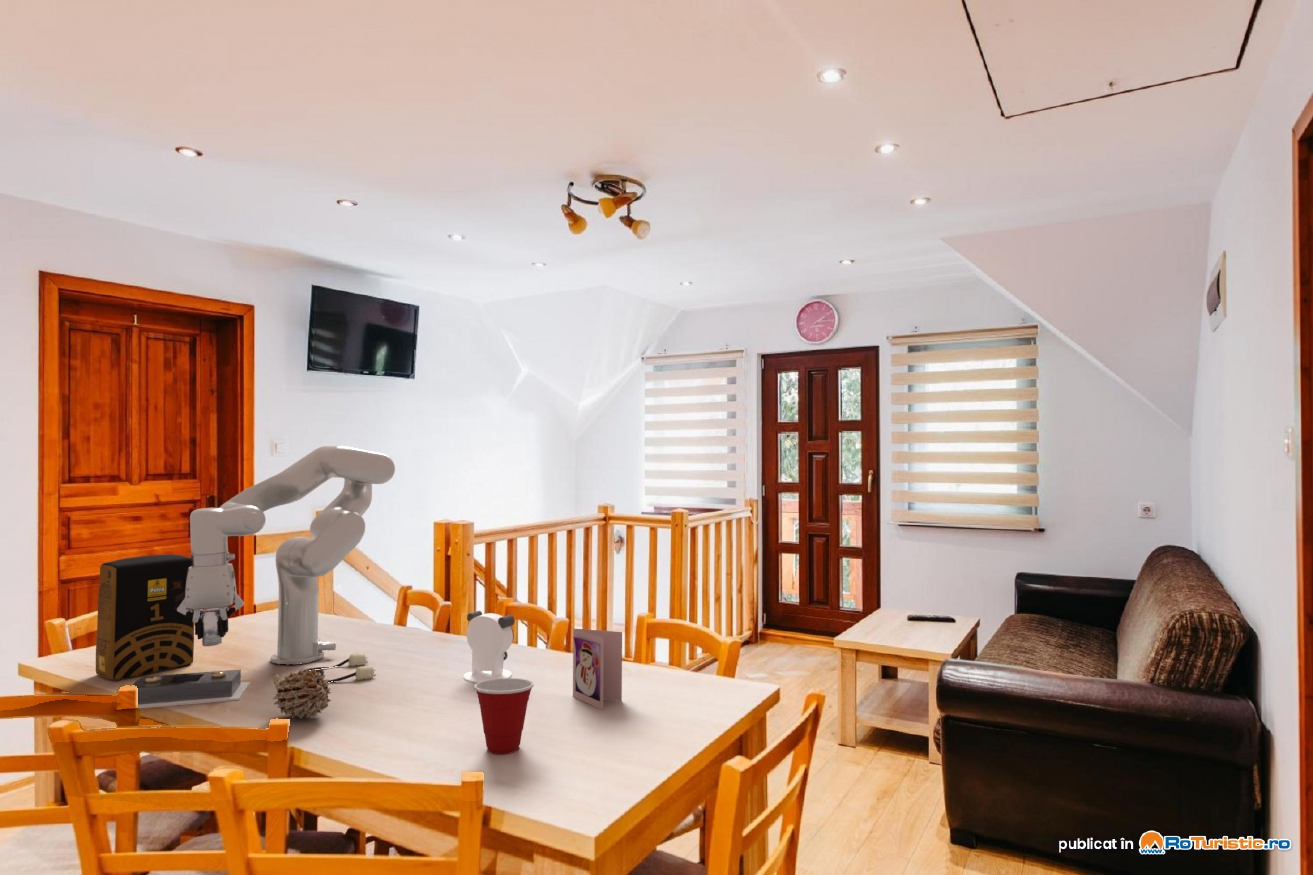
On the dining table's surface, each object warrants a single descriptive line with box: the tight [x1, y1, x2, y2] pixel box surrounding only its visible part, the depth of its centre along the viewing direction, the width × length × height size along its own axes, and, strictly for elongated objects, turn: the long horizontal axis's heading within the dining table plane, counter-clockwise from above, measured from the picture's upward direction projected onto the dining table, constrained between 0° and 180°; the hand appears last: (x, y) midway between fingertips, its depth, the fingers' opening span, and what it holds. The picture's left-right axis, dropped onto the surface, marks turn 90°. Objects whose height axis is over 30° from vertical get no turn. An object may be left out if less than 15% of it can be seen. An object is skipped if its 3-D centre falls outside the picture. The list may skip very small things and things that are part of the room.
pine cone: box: [272, 669, 332, 719], centre depth 154 cm, size 22×10×10 cm, turn 53°
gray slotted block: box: [131, 668, 242, 705], centre depth 165 cm, size 20×9×4 cm, turn 108°
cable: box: [302, 653, 377, 683], centre depth 182 cm, size 16×16×4 cm
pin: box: [201, 608, 223, 647], centre depth 178 cm, size 4×4×8 cm
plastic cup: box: [473, 677, 535, 755], centre depth 137 cm, size 11×11×12 cm
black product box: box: [95, 553, 195, 682], centre depth 185 cm, size 11×19×28 cm, turn 147°
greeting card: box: [572, 628, 623, 711], centre depth 164 cm, size 11×7×15 cm, turn 40°
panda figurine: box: [463, 610, 515, 684], centre depth 182 cm, size 12×11×15 cm
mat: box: [137, 681, 251, 710], centre depth 165 cm, size 23×12×1 cm, turn 108°
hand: (212, 635), depth 179 cm, fingers closed on pin, 4 cm apart
